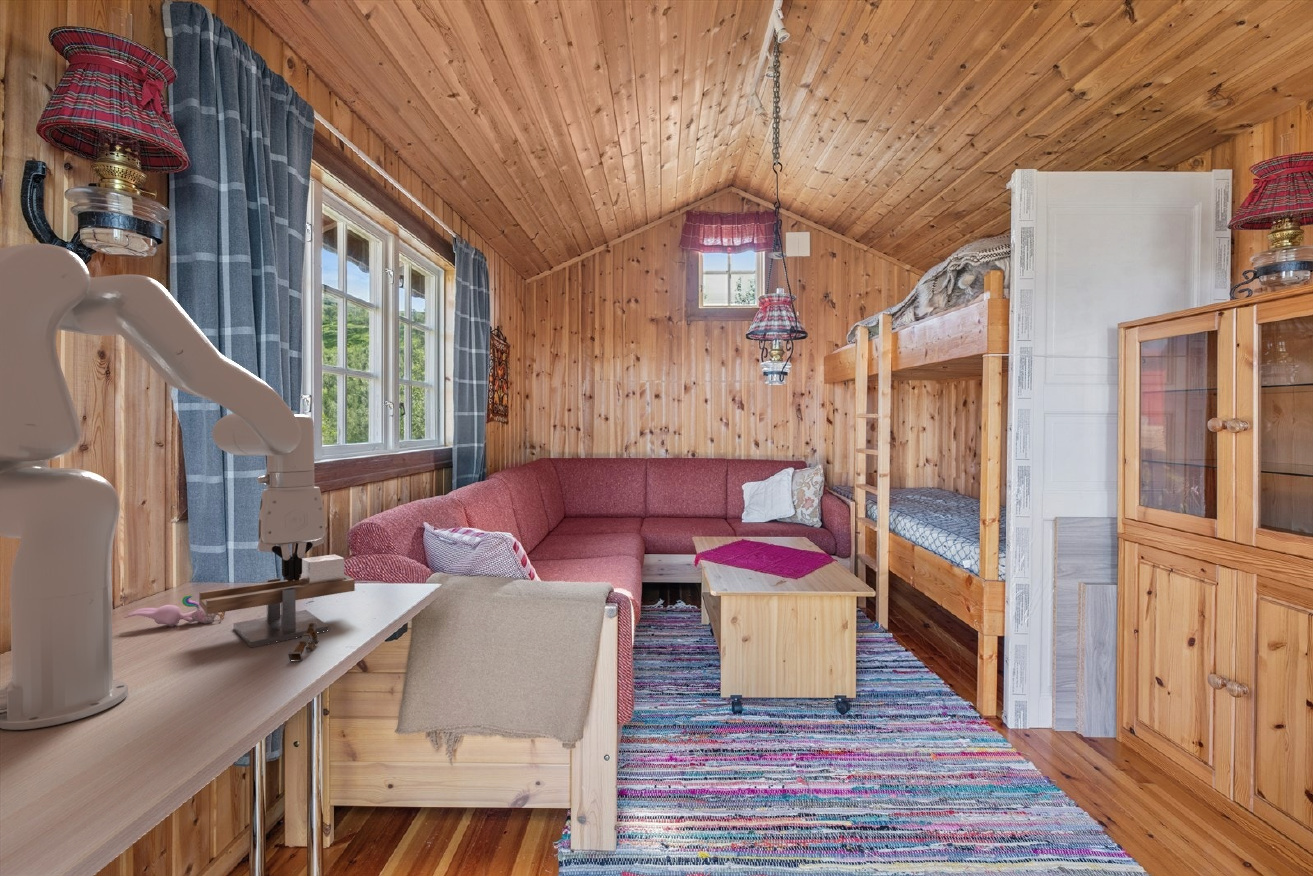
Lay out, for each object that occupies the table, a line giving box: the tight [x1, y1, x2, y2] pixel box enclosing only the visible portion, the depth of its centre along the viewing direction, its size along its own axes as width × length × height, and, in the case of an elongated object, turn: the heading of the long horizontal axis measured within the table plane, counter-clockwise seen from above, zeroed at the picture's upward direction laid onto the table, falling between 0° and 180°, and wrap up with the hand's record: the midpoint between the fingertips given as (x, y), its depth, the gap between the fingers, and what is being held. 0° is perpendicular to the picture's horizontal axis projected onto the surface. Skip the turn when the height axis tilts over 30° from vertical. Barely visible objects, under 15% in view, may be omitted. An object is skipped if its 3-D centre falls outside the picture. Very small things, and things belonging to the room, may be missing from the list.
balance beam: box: [198, 573, 356, 614], centre depth 111 cm, size 23×8×2 cm, turn 135°
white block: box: [300, 554, 345, 586], centre depth 116 cm, size 6×5×5 cm
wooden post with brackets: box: [287, 621, 320, 662], centre depth 100 cm, size 2×8×4 cm, turn 6°
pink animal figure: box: [123, 594, 226, 627], centre depth 114 cm, size 6×6×15 cm
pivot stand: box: [233, 577, 330, 648], centre depth 111 cm, size 12×14×8 cm
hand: (292, 579), depth 113 cm, fingers closed
